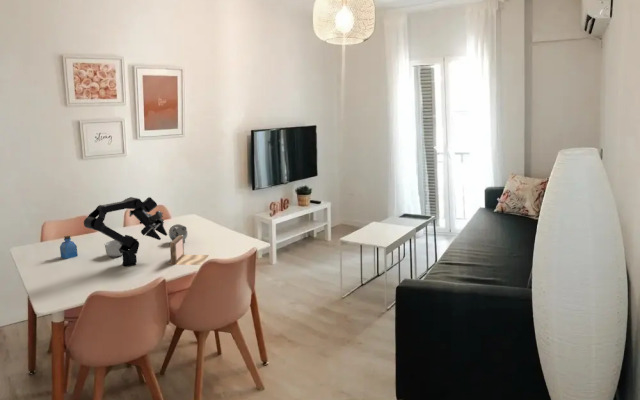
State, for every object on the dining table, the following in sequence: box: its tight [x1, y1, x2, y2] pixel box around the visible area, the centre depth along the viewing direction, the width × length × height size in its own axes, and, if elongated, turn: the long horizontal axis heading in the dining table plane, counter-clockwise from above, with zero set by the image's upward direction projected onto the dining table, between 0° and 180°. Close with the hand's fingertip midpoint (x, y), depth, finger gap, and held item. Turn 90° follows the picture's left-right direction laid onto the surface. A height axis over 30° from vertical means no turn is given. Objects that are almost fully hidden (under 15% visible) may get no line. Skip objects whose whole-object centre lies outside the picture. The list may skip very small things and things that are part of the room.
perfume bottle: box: [59, 235, 79, 260], centre depth 275 cm, size 6×6×12 cm
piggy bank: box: [168, 223, 188, 244], centre depth 303 cm, size 11×15×12 cm
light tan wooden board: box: [168, 254, 210, 266], centre depth 271 cm, size 18×17×1 cm
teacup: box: [104, 239, 123, 258], centre depth 280 cm, size 14×11×8 cm
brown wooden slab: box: [169, 235, 185, 265], centre depth 269 cm, size 2×15×12 cm, turn 178°
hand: (163, 237), depth 267 cm, fingers open, 9 cm apart
